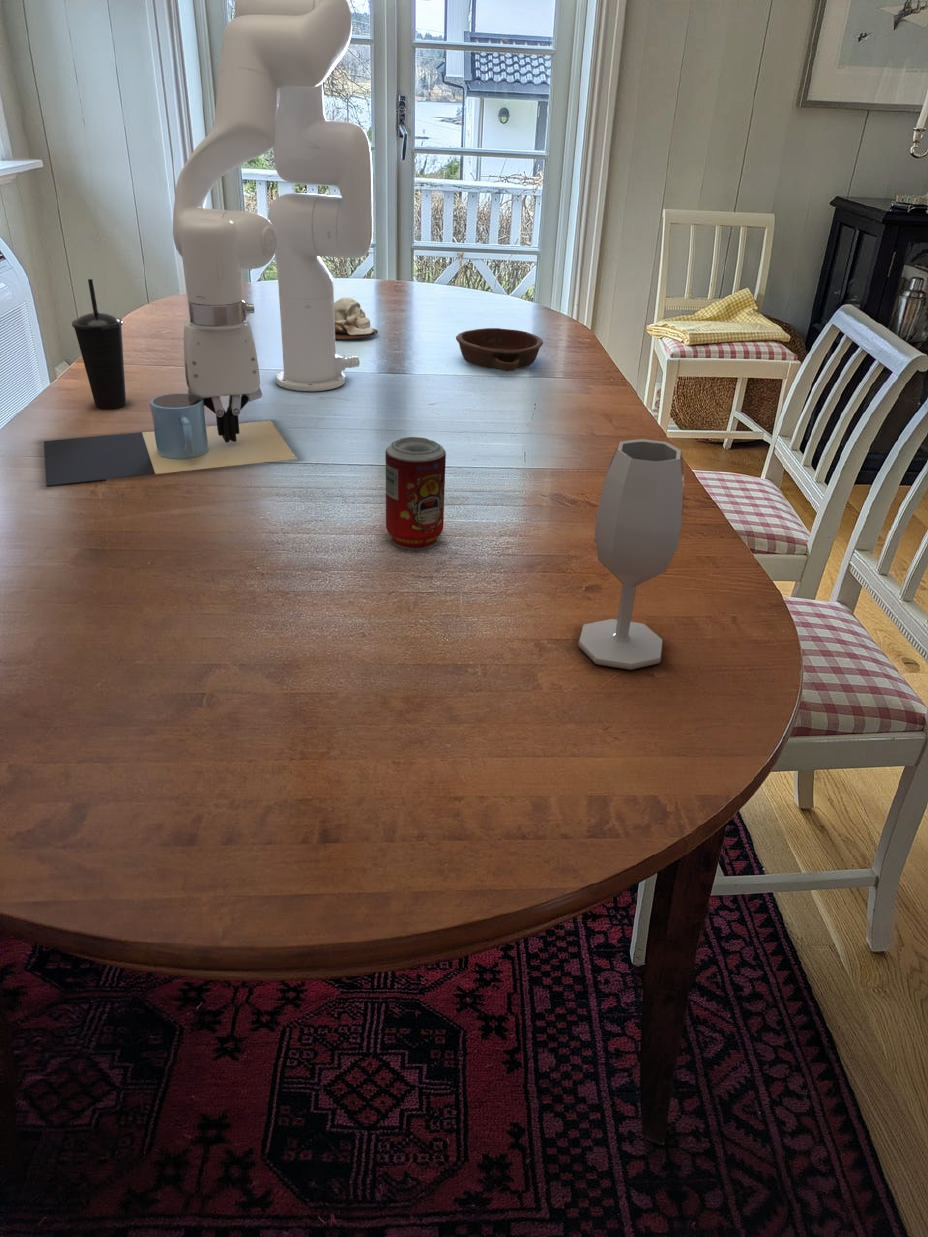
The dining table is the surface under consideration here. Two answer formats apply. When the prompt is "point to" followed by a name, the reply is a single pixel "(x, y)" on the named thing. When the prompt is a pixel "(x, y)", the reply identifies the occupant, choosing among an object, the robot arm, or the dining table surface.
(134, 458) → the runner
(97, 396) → the drinking cup
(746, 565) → the dining table surface
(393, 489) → the soda can
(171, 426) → the mug
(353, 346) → the dining table surface
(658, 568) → the wineglass
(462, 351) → the dish
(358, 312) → the skull
